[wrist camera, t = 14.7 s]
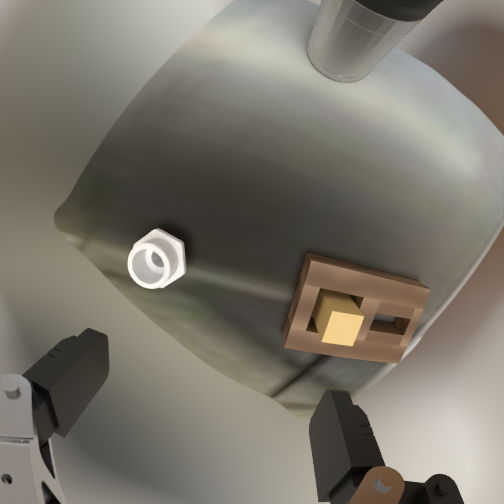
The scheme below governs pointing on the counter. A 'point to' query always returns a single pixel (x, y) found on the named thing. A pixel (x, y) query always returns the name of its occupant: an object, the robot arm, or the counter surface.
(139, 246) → the pipe fitting
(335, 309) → the square peg
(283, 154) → the counter surface
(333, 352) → the socket block
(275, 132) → the counter surface
